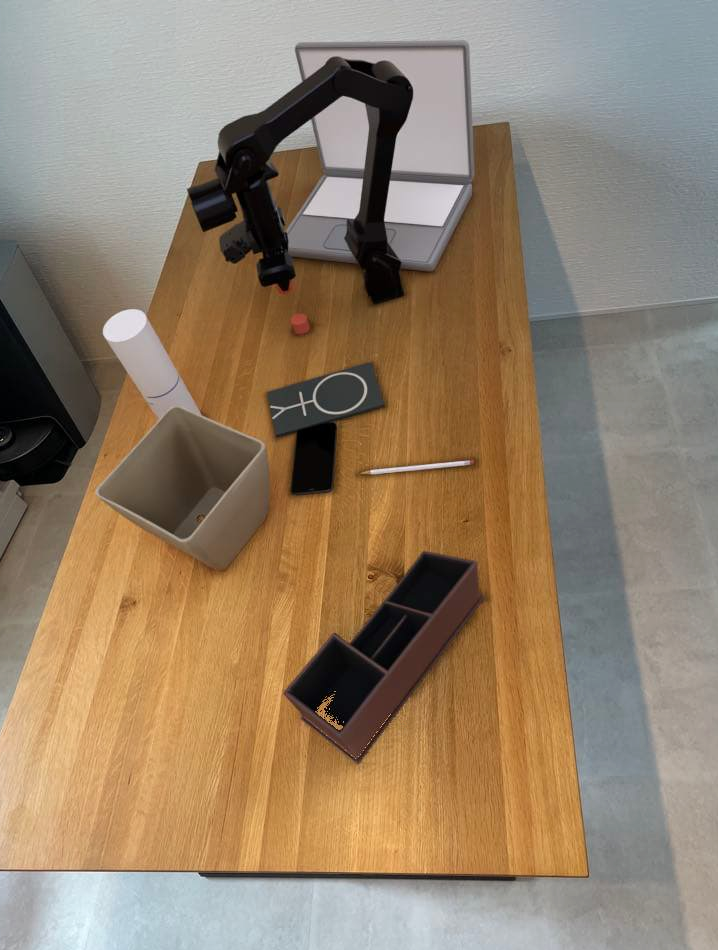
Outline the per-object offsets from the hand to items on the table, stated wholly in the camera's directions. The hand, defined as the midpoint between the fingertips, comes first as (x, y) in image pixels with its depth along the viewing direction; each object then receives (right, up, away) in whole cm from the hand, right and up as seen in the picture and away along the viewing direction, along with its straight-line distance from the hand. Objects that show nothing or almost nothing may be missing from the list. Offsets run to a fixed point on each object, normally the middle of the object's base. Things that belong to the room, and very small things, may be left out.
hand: (284, 284), depth 127 cm
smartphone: (+6, -34, -9) cm, 36 cm away
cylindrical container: (-18, -27, -1) cm, 33 cm away
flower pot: (-9, -46, -14) cm, 49 cm away
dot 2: (+3, -6, +8) cm, 10 cm away
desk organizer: (+19, -64, -31) cm, 74 cm away
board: (+8, -22, -3) cm, 24 cm away
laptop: (+18, +21, +21) cm, 34 cm away
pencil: (+23, -36, -15) cm, 46 cm away
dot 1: (0, 0, +1) cm, 1 cm away
